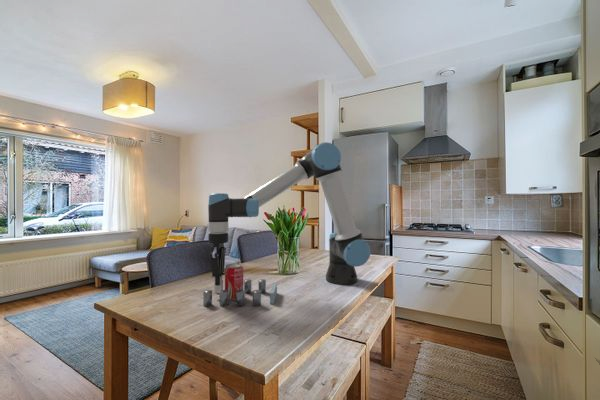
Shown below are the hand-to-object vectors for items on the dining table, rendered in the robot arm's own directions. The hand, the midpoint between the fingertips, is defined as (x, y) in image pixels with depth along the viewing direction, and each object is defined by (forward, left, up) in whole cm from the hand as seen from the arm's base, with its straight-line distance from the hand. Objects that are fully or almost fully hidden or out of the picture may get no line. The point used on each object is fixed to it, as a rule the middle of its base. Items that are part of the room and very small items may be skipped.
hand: (218, 292), depth 106 cm
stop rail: (-22, 0, -2) cm, 22 cm away
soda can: (-6, 0, -2) cm, 7 cm away
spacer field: (-7, 0, -2) cm, 8 cm away
